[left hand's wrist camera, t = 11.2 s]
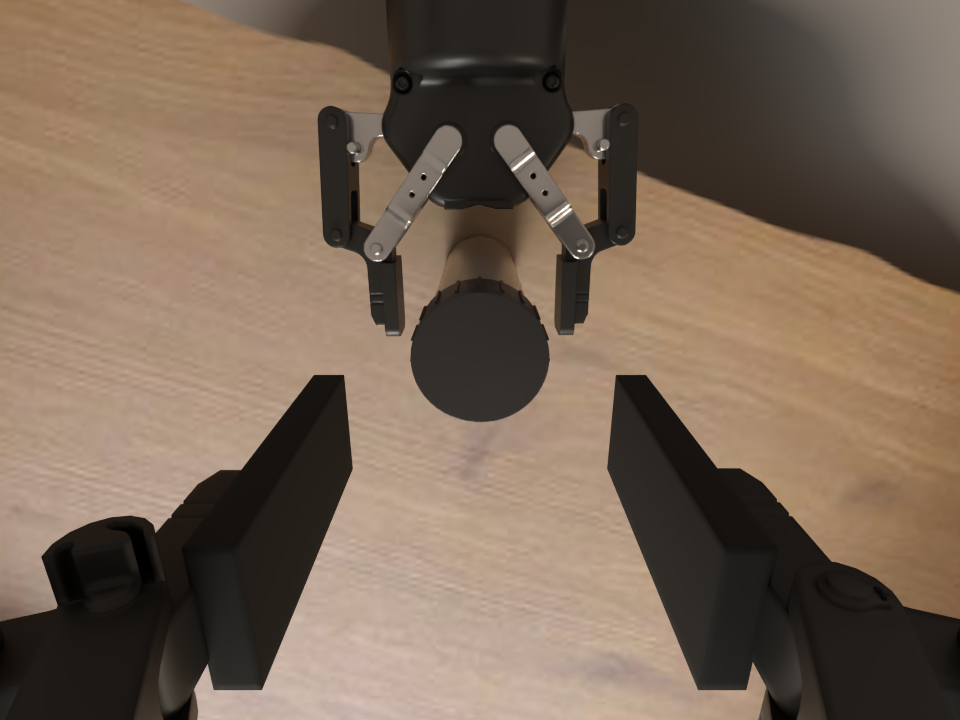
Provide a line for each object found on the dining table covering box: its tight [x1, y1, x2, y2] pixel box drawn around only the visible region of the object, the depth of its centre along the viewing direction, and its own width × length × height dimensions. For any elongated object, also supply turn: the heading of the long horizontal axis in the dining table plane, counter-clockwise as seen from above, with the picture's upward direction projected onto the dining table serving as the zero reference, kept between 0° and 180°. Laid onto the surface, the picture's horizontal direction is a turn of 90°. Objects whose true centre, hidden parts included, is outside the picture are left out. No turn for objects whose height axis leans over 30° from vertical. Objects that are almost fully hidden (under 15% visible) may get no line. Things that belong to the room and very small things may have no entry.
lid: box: [410, 277, 550, 422], centre depth 20 cm, size 5×5×2 cm
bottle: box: [436, 236, 525, 296], centre depth 26 cm, size 4×4×15 cm
